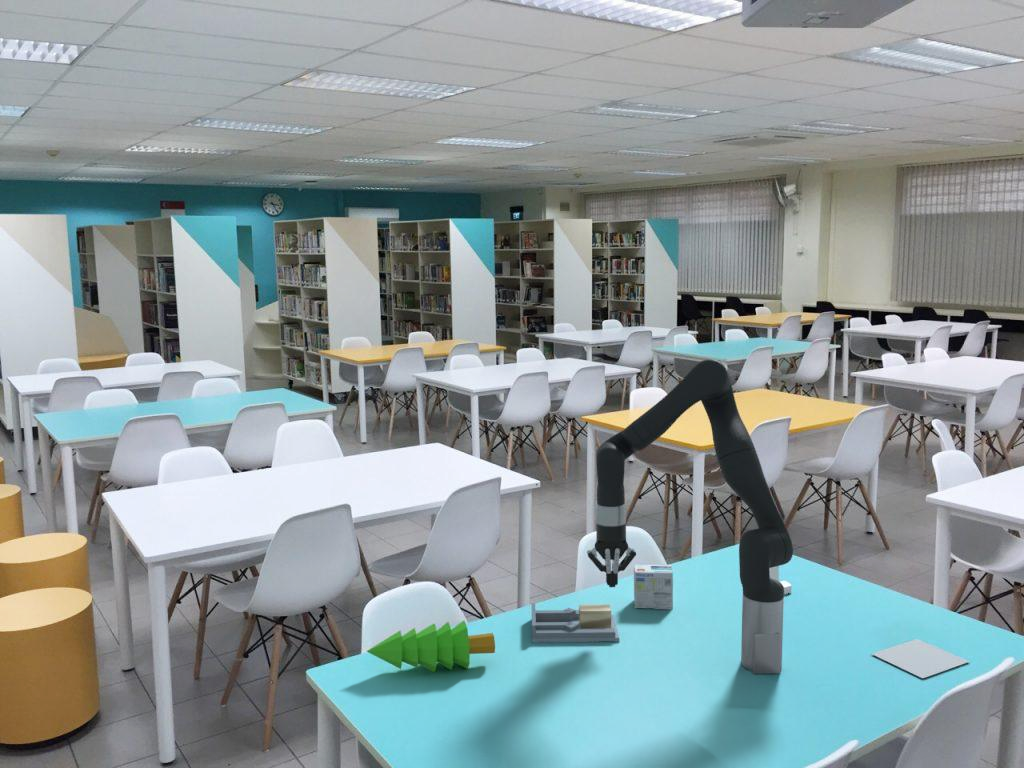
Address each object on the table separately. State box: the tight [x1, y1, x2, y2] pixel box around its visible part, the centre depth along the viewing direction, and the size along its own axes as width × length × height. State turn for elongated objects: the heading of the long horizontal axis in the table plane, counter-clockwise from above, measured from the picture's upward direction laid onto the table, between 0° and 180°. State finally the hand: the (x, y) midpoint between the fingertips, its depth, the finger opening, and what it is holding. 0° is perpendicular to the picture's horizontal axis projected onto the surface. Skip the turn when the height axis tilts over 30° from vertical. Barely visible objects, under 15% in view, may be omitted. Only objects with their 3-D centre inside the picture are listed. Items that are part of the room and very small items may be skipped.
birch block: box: [578, 603, 612, 629], centre depth 217 cm, size 4×8×5 cm, turn 89°
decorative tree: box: [366, 620, 496, 673], centre depth 197 cm, size 11×12×30 cm
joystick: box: [769, 566, 792, 595], centre depth 240 cm, size 11×8×20 cm
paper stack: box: [871, 638, 970, 679], centre depth 205 cm, size 23×25×1 cm
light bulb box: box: [633, 563, 674, 610], centre depth 232 cm, size 11×7×11 cm, turn 84°
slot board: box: [531, 602, 620, 643], centre depth 217 cm, size 14×22×4 cm, turn 89°
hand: (611, 586), depth 215 cm, fingers closed
